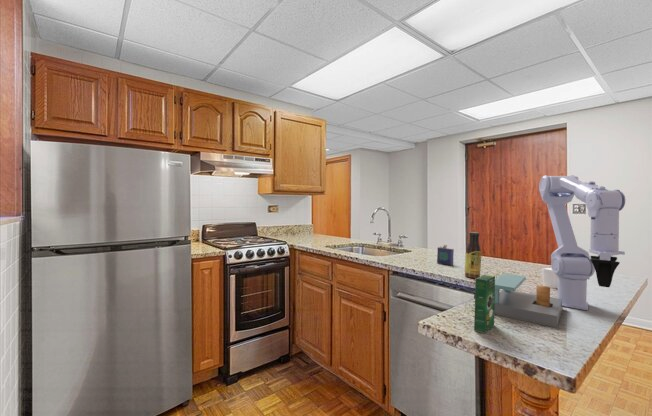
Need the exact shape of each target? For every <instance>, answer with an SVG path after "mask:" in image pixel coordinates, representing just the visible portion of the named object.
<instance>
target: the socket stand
mask: <svg viewBox="0 0 652 416" xmlns="http://www.w3.org/2000/svg"><path fill="white" fill-rule="evenodd" d="M526 278H527V276H526V275H517V274H511V273H502V274H500V275H499V276H498V277H497V278H496V277H495V311H494V315H497V316H501V317H506V318H510V319H514V320H520V321H524V322H527V323H533V324H538V325H541V326H542V325H543V326H547V327H552V328H558V325H559V323H560V322H559V321H560V319H561V316H562V315H561V314H562V312H563V306H562V299H558V298H557V297H551V296H550V307H546V306H541V305H536V294H533V293H527V292H521V291H516V290H518V288H520V286H521V285H522V284H523V283H524V282H525V281H526V280H527V279H526ZM500 290H501V291H500Z"/></svg>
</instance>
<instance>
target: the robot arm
mask: <svg viewBox="0 0 652 416" xmlns="http://www.w3.org/2000/svg"><path fill="white" fill-rule="evenodd" d="M538 189H539V190H538V191H539V194H540V198H541V200H542V202H543V203H545V204H546V206H547V210H548V214H549V218H550V222H551V225H552V229H553V232H554V236H555V240H556V244H557V248H556V249H555V250H553V252H552V253H550V261H551V262H550V264H551V265H550V268H552V270H553V272H554V273H555V274H556V275H557V276H558V289H557V297H556V298H558V299H562V307H566V308H572V309H577V310H583V311H588V310H589V302H588V301H587V293H588V292H587V291H588V289H587V286H588V285H587V284H588V281H587V280H590V279H591V277H592V276H593V275H594V274H596V275H595V276H596V279H597V284H598V286H599V287H601V288H602V287H603V288H610V287H611V284H612V282H613V281H612V280H613V276H614V273H615V271H616V269H617V267H619V265H620V261H617V260H618V257H617V256H619V255H623V256H624V255H625V253H626V252H625V251H622V250H621V251H619V249H620V247H619V245H620V244H619V243H620V242H619V241H620V240H619V238H620V235H619V234H620V211H622V210H623V209H624V207H625V206H626V196H625V194H624V193H623V192H622V191H621V190H620V189H613V190H609V189H607V188H606V187H605V186H604V185H602V186H601V185H598V184H596V182H595V181H591V180H587V181H584V182H582V181H580V180H579V177H578V176H576V175H573V174H571V175H542V177H541V178H540V179H539V185H538ZM574 196H575V197H574ZM574 198H575V199H577V200H579V201H581V202H583V203H584V204H585V207H586V208H587V212H588V213H587V214H588V218H590V244H589V245H590V246H589V247H590V249H589V251H587V250H585V249H584V248H582V247H581V246H578V242H577V239H576V235H575V233H574V230H573V227H572V223H571V220H570V216H569V213H568V209H567V207H566V205H567V204H568V203H571V202H572V201H573V199H574ZM589 253H592V254H595V255H590V254H589Z"/></svg>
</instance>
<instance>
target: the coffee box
mask: <svg viewBox="0 0 652 416" xmlns="http://www.w3.org/2000/svg"><path fill="white" fill-rule="evenodd" d="M474 279H475V281H474V282H475V283H474V285H475V286H474V316H473V317H474V320H473V321H474V322H473V330H474V331H475V332H477V333H483V334H484V333H485V334H486V333H487V332H488V331H489V330H490V329H491V328H492V327H493V326H494V325H495V314H494V311H495V279H496V275H491V274H482V275H480V277H478V278H474Z"/></svg>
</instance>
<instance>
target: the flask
mask: <svg viewBox="0 0 652 416" xmlns="http://www.w3.org/2000/svg"><path fill="white" fill-rule="evenodd" d="M454 251H455V250H454V248H448V245H447V244H443V246H438V247H437V254H436V255H437V256H436V257H437V258H436V259H437V260H436V262H437V263H436V264H438V265H445V266H450V267H451V266H452V267H453V266H454V253H455V252H454Z"/></svg>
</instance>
